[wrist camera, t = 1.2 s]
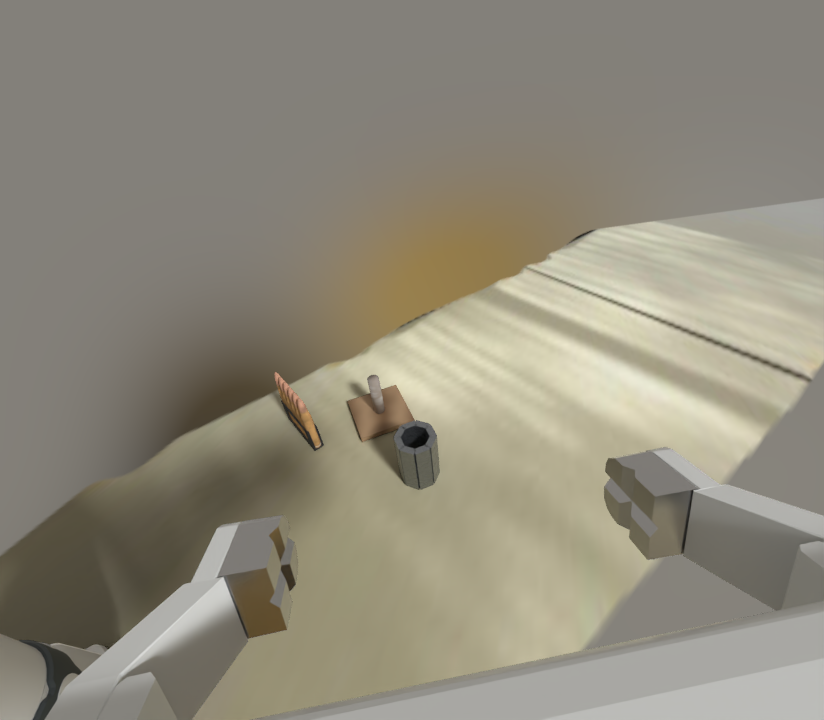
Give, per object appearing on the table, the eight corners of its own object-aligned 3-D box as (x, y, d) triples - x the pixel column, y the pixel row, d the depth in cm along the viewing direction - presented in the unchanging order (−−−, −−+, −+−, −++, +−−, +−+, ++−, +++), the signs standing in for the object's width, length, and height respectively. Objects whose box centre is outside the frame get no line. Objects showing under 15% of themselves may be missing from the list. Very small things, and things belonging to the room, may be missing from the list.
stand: (362, 441, 70) (352, 407, 64) (348, 404, 77) (338, 370, 71) (414, 423, 72) (409, 387, 66) (396, 388, 79) (390, 354, 73)
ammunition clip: (324, 445, 70) (306, 398, 62) (315, 451, 69) (295, 404, 61) (297, 413, 77) (277, 367, 69) (288, 418, 76) (268, 372, 68)
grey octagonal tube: (409, 494, 61) (403, 459, 55) (396, 464, 65) (389, 429, 60) (444, 479, 62) (442, 444, 57) (429, 451, 67) (426, 416, 61)
